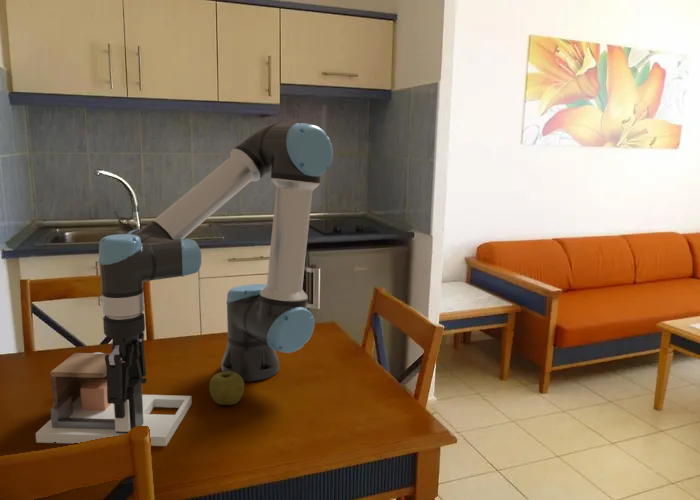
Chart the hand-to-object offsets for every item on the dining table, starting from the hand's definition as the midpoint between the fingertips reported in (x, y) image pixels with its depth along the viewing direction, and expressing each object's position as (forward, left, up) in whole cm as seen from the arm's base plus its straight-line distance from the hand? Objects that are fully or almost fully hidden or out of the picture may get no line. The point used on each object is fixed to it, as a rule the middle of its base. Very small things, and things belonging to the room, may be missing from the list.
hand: (129, 421), depth 113 cm
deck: (+5, -6, -3) cm, 8 cm away
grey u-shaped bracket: (+7, -2, -1) cm, 7 cm away
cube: (+11, -10, -1) cm, 14 cm away
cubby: (+12, -9, -1) cm, 15 cm away
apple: (-16, -16, -4) cm, 23 cm away
